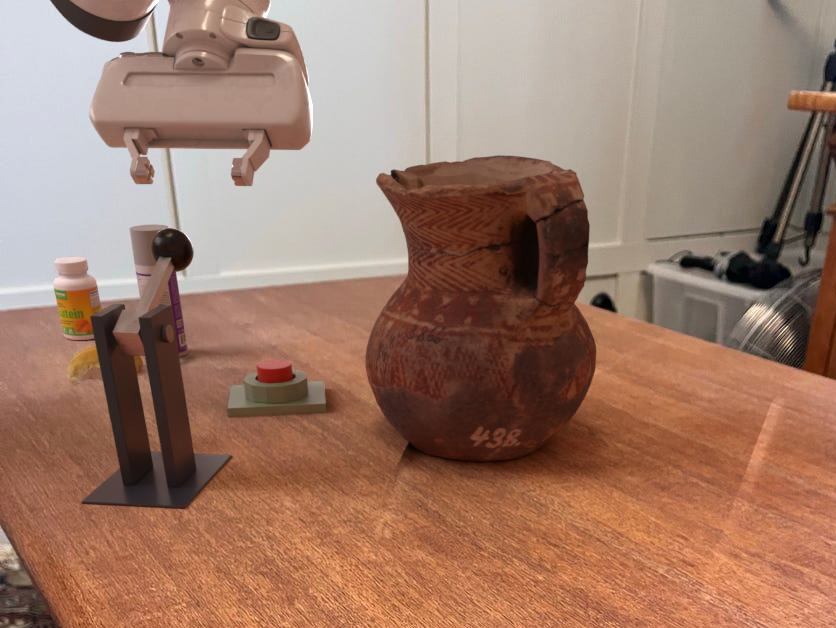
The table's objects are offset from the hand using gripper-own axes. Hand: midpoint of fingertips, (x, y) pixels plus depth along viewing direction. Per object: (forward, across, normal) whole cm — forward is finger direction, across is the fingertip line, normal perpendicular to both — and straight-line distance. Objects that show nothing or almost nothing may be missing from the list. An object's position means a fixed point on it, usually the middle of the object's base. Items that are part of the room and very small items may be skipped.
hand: (190, 181), depth 92 cm
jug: (+16, +26, +17) cm, 35 cm away
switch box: (+13, +4, +20) cm, 24 cm away
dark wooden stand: (+28, 0, +5) cm, 29 cm away
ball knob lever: (+14, 0, -1) cm, 14 cm away
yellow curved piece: (+6, -19, +28) cm, 34 cm away
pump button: (+10, +4, +18) cm, 21 cm away
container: (-2, -16, +36) cm, 39 cm away
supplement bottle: (-7, -31, +41) cm, 52 cm away
